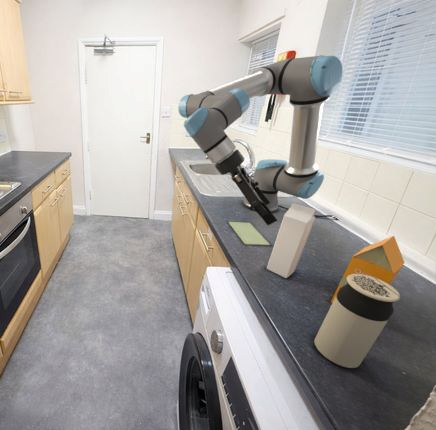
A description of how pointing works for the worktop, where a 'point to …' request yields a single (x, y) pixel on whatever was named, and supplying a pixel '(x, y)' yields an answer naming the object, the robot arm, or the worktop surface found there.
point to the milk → (291, 240)
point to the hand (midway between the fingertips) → (268, 213)
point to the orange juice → (376, 262)
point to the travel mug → (355, 319)
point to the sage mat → (248, 234)
